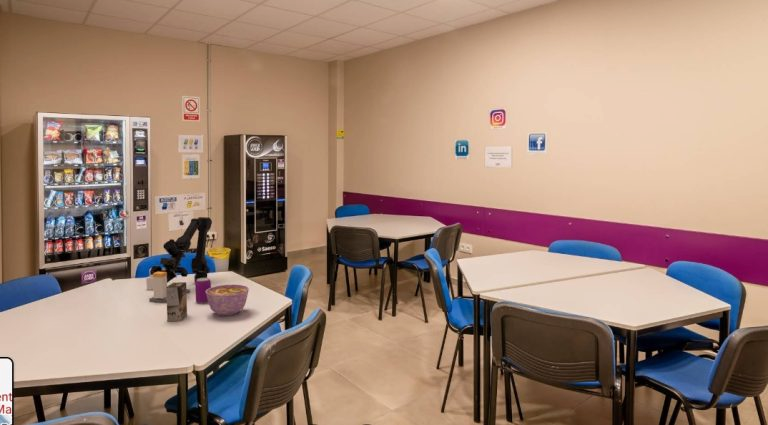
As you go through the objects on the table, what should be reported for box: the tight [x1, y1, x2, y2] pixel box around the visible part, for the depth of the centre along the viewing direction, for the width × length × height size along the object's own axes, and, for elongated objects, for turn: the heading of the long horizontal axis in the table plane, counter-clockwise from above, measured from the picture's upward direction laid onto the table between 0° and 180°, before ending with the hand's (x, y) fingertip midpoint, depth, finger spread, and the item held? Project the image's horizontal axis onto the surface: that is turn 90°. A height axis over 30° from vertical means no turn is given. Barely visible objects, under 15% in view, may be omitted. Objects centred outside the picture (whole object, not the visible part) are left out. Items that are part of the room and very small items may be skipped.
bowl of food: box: [205, 284, 250, 317], centre depth 235 cm, size 20×20×12 cm
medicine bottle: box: [145, 268, 154, 291], centre depth 276 cm, size 7×7×12 cm
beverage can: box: [194, 277, 212, 304], centre depth 253 cm, size 8×8×12 cm
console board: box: [148, 288, 191, 304], centre depth 261 cm, size 21×10×2 cm, turn 170°
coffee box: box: [166, 281, 188, 322], centre depth 226 cm, size 9×6×16 cm
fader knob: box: [153, 272, 168, 299], centre depth 252 cm, size 4×5×13 cm
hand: (163, 284), depth 255 cm, fingers closed
